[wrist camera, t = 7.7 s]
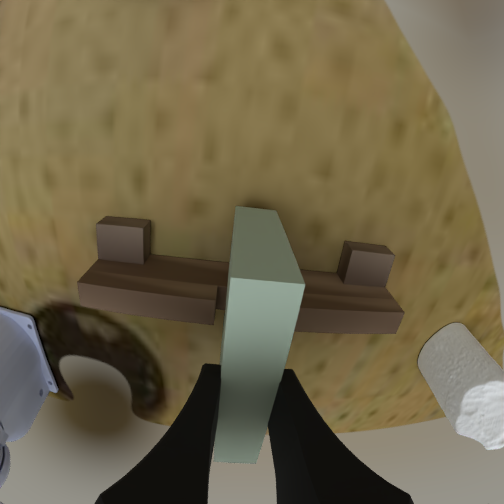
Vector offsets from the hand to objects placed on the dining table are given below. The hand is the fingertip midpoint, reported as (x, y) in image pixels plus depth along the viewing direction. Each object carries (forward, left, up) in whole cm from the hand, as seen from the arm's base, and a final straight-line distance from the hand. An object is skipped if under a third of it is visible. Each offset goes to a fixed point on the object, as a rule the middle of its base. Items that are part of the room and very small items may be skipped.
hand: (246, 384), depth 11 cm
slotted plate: (0, 0, -7) cm, 7 cm away
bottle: (-6, -19, -9) cm, 22 cm away
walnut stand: (0, 0, -9) cm, 9 cm away
